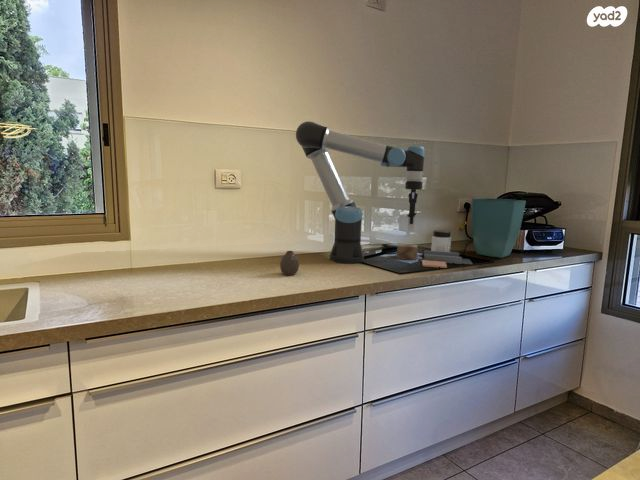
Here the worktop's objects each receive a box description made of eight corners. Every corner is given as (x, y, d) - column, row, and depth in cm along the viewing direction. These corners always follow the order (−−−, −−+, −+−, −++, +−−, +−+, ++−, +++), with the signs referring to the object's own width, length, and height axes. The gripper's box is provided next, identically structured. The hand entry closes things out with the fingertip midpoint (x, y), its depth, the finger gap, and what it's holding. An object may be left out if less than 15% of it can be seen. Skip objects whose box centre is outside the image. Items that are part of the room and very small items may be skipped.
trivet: (422, 266, 178) (422, 264, 178) (422, 261, 188) (422, 260, 187) (446, 268, 176) (447, 266, 176) (445, 263, 185) (445, 261, 185)
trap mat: (462, 264, 185) (462, 263, 185) (459, 259, 197) (459, 258, 197) (472, 264, 184) (472, 264, 184) (469, 259, 196) (469, 259, 196)
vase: (277, 272, 157) (278, 250, 155) (294, 271, 159) (295, 249, 158) (283, 277, 150) (284, 253, 149) (301, 276, 153) (302, 252, 152)
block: (396, 258, 194) (397, 245, 193) (397, 256, 200) (398, 243, 200) (416, 260, 192) (417, 247, 191) (416, 257, 198) (417, 245, 197)
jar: (443, 257, 199) (445, 232, 198) (428, 254, 205) (429, 230, 203) (452, 255, 206) (454, 231, 204) (437, 253, 211) (439, 229, 210)
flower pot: (520, 255, 212) (526, 200, 208) (507, 260, 197) (514, 201, 193) (481, 250, 225) (486, 197, 221) (466, 254, 210) (471, 198, 206)
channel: (424, 261, 189) (424, 254, 188) (423, 256, 200) (424, 250, 200) (461, 264, 185) (461, 257, 185) (458, 259, 197) (459, 252, 197)
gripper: (423, 181, 180) (419, 233, 183) (422, 180, 200) (418, 227, 203) (405, 180, 181) (401, 232, 185) (406, 180, 202) (403, 226, 205)
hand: (410, 229), depth 194 cm, fingers open, 8 cm apart
